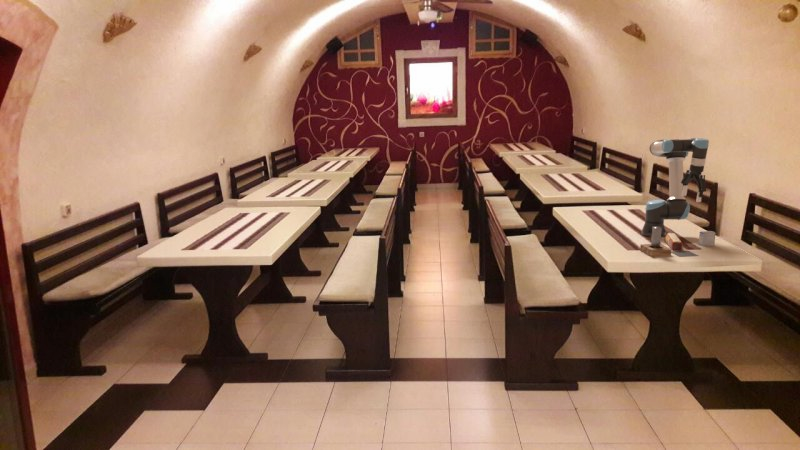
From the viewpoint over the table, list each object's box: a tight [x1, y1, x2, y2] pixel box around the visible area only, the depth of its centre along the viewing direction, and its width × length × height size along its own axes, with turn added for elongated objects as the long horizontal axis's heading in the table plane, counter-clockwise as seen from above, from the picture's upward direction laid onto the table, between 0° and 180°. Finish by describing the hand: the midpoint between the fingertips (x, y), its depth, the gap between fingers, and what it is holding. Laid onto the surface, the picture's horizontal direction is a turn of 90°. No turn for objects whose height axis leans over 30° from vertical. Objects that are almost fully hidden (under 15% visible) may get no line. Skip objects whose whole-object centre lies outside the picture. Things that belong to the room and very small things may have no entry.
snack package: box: [664, 232, 683, 251], centre depth 360 cm, size 21×7×7 cm, turn 165°
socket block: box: [639, 243, 672, 258], centre depth 347 cm, size 14×12×4 cm
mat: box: [671, 250, 699, 258], centre depth 344 cm, size 12×12×1 cm
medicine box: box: [698, 230, 717, 247], centre depth 361 cm, size 8×4×9 cm, turn 92°
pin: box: [650, 227, 662, 248], centre depth 346 cm, size 5×5×16 cm
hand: (690, 198), depth 351 cm, fingers open, 13 cm apart
